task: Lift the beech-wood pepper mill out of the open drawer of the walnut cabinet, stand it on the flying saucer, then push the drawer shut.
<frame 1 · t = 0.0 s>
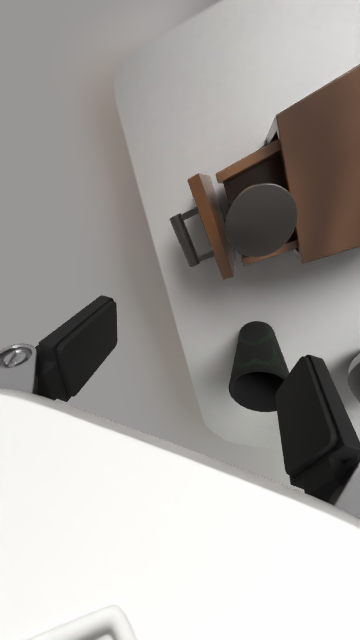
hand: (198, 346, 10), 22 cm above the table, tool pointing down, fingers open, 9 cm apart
drawer: (248, 212, 22), point 4 cm above the table, slide at 6.5 cm, touching pepper mill
pepper mill: (253, 208, 24), point 2 cm above the table, touching drawer
cup: (256, 334, 35), on the table
cabinet: (348, 163, 21), on the table
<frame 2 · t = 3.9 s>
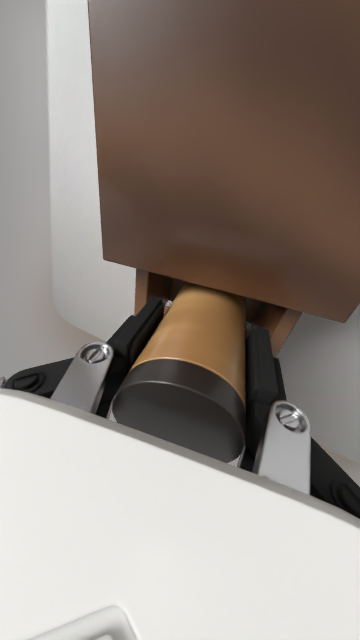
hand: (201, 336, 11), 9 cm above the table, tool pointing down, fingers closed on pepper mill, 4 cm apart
drawer: (210, 306, 15), point 4 cm above the table, slide at 6.5 cm, touching pepper mill
pepper mill: (215, 287, 17), point 2 cm above the table, touching drawer, gripper
cabinet: (259, 134, 13), on the table
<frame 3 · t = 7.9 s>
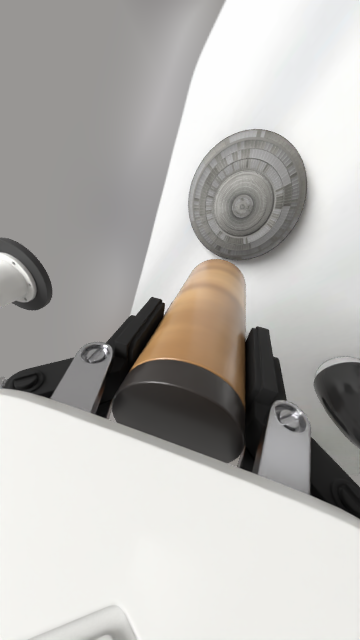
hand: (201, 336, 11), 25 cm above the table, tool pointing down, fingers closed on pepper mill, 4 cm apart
pump dispenser: (340, 368, 39), on the table
pepper mill: (215, 287, 17), point 19 cm above the table, touching gripper
flying saucer: (242, 203, 29), on the table
when the fingers open (12 cm above the table, at t = 11.7 s): pepper mill stays where it is, resting on flying saucer.
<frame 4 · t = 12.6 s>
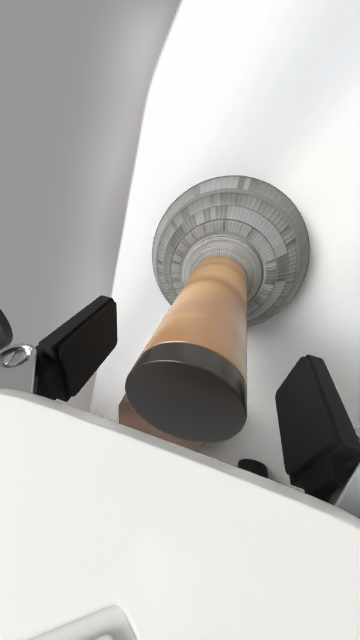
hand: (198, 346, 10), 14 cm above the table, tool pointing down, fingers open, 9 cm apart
pepper mill: (218, 282, 17), point 5 cm above the table, touching flying saucer
cup: (252, 465, 42), on the table
cabinet: (173, 396, 36), on the table
flying saucer: (224, 262, 22), on the table, touching pepper mill
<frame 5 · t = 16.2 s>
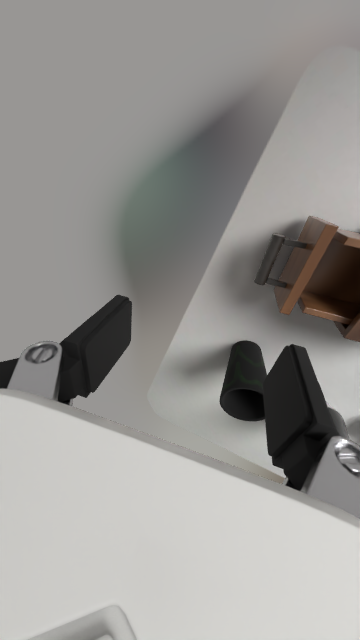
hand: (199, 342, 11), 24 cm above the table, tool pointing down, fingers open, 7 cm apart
pump dispenser: (306, 404, 43), on the table
drawer: (330, 273, 25), point 4 cm above the table, slide at 6.5 cm
cup: (245, 351, 40), on the table
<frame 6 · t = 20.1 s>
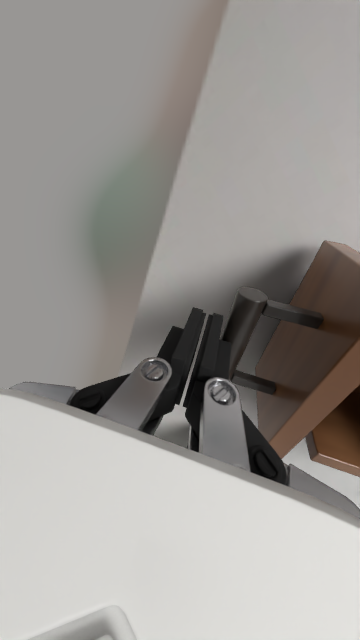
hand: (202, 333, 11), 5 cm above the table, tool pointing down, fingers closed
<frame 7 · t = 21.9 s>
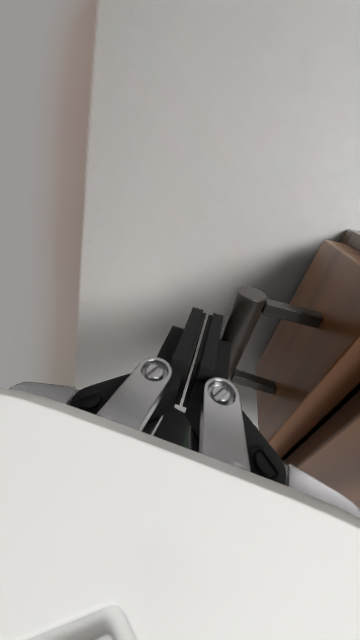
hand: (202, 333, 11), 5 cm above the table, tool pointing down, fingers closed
cup: (171, 418, 27), on the table
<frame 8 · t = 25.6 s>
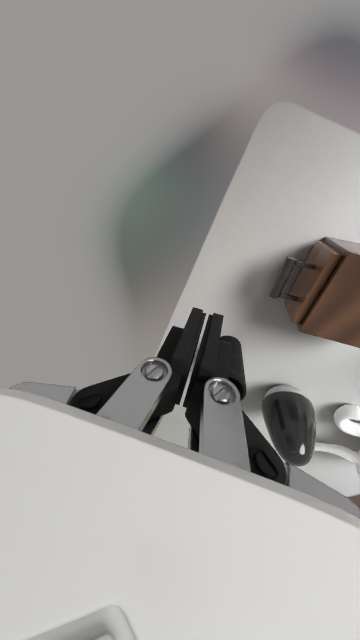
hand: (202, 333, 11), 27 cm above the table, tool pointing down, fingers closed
pump dispenser: (283, 393, 48), on the table
drawer: (334, 289, 29), point 4 cm above the table, slide at 0.0 cm, touching cabinet
cup: (227, 345, 45), on the table
cabinet: (349, 284, 32), on the table
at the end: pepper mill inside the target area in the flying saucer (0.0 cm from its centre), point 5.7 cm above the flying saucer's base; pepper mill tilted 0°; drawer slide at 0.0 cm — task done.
